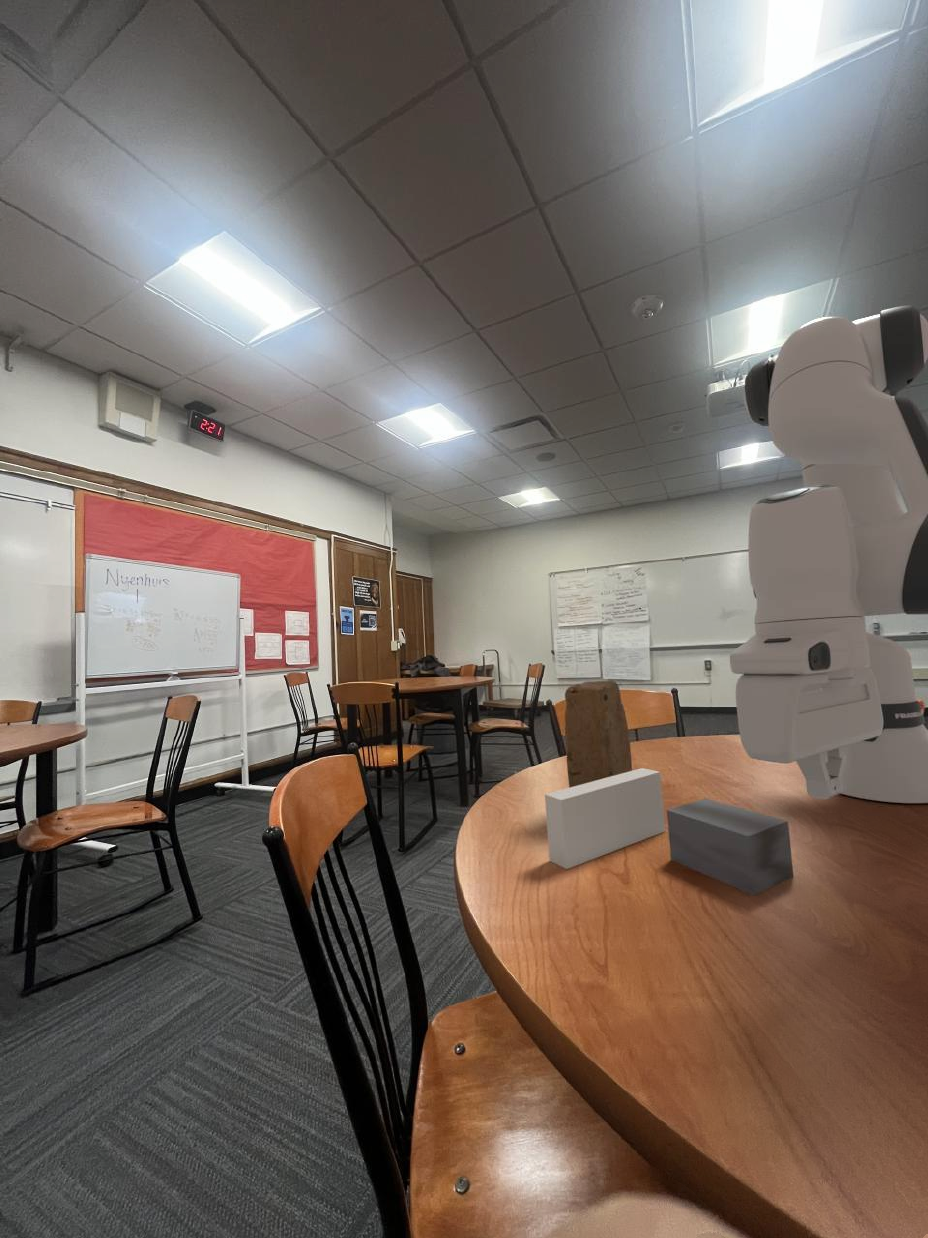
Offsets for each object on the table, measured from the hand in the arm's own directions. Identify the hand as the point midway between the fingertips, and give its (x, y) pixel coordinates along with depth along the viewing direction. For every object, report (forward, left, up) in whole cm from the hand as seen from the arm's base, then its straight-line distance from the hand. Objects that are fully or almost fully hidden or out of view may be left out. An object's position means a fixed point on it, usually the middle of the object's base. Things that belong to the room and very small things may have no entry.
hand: (825, 796), depth 46 cm
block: (-4, -33, -11) cm, 35 cm away
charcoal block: (0, -11, -11) cm, 15 cm away
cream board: (+5, -23, -11) cm, 26 cm away
